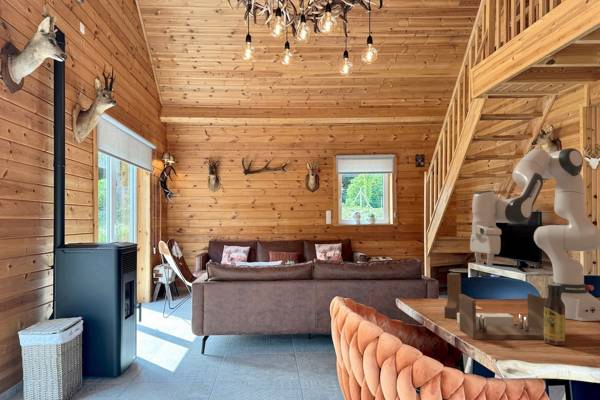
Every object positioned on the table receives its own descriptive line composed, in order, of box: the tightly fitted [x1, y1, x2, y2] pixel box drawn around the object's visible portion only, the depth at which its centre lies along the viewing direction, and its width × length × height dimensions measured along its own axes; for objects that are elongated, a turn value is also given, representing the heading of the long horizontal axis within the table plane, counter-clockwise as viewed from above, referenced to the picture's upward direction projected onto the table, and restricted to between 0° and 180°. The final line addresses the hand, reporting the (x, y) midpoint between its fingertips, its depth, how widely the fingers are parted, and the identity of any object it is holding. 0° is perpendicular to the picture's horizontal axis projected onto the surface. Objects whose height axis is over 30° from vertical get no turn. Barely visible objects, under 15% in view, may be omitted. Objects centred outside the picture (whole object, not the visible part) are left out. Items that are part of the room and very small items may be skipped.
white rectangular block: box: [456, 312, 515, 326], centre depth 167 cm, size 20×6×4 cm, turn 86°
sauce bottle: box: [543, 282, 566, 346], centre depth 141 cm, size 6×6×20 cm
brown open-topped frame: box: [459, 293, 547, 340], centre depth 152 cm, size 27×12×14 cm, turn 90°
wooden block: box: [444, 272, 462, 319], centre depth 180 cm, size 9×4×18 cm, turn 142°
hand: (484, 264), depth 169 cm, fingers open, 8 cm apart
